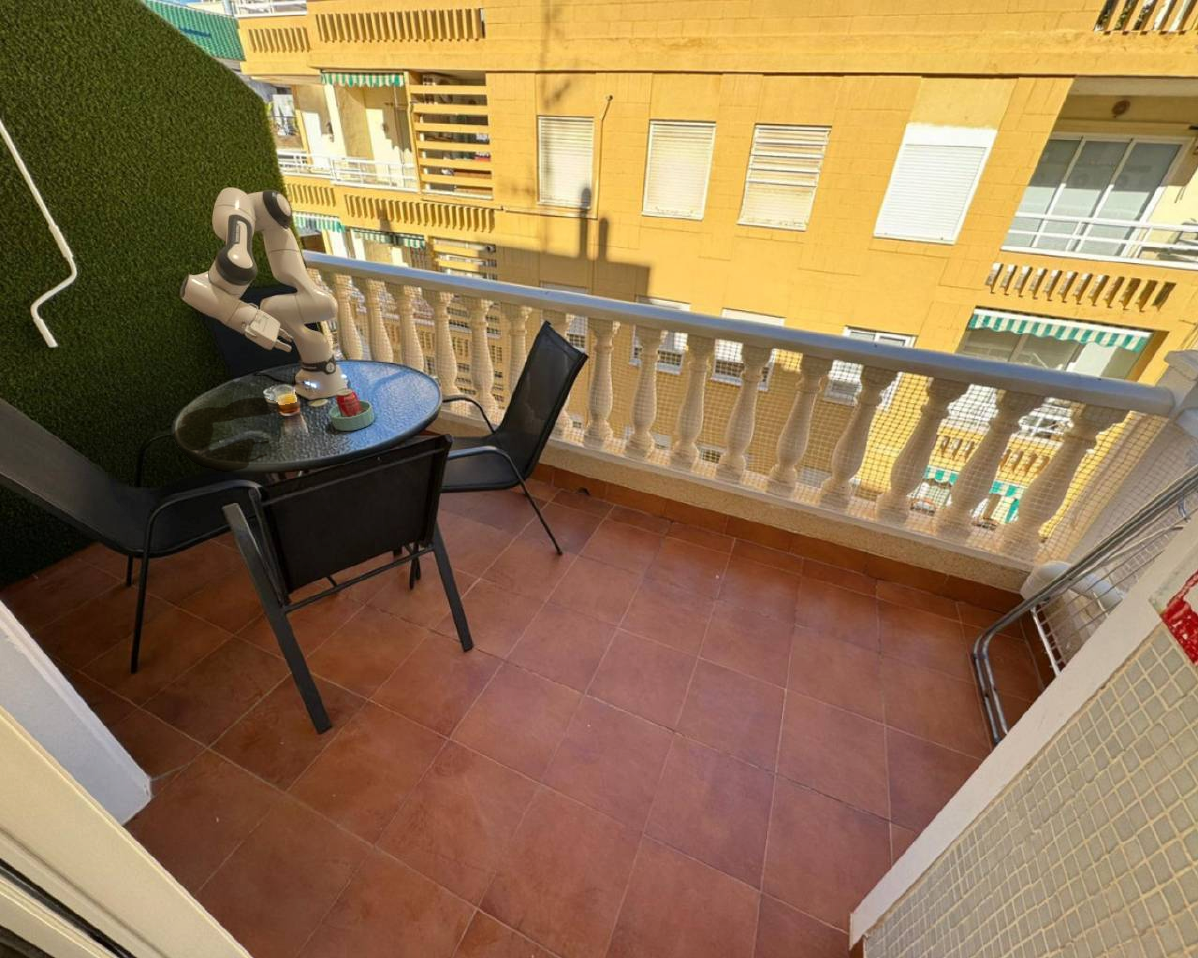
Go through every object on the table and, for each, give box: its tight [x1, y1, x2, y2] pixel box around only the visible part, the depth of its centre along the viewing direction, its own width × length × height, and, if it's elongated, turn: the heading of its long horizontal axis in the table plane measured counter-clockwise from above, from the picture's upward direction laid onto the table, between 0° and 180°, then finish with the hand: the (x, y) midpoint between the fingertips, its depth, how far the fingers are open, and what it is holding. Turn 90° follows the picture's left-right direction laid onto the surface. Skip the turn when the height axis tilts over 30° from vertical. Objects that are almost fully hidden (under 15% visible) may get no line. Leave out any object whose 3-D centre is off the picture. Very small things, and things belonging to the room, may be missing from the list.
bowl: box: [328, 399, 376, 432], centre depth 182 cm, size 14×14×6 cm
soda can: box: [335, 387, 362, 418], centre depth 180 cm, size 7×7×12 cm
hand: (291, 344), depth 162 cm, fingers open, 8 cm apart
